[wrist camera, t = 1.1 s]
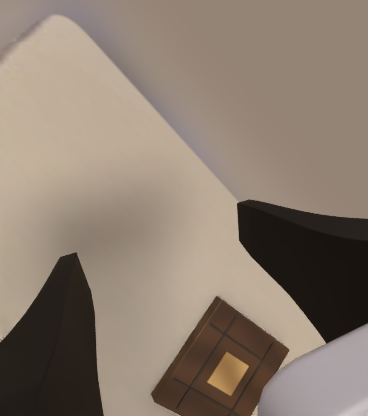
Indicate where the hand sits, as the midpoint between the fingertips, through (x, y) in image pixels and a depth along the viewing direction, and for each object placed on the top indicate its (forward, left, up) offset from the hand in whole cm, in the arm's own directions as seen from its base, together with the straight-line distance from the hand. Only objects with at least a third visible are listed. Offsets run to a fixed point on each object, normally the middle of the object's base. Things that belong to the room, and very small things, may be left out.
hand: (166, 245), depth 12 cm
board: (-7, -22, -18) cm, 30 cm away
